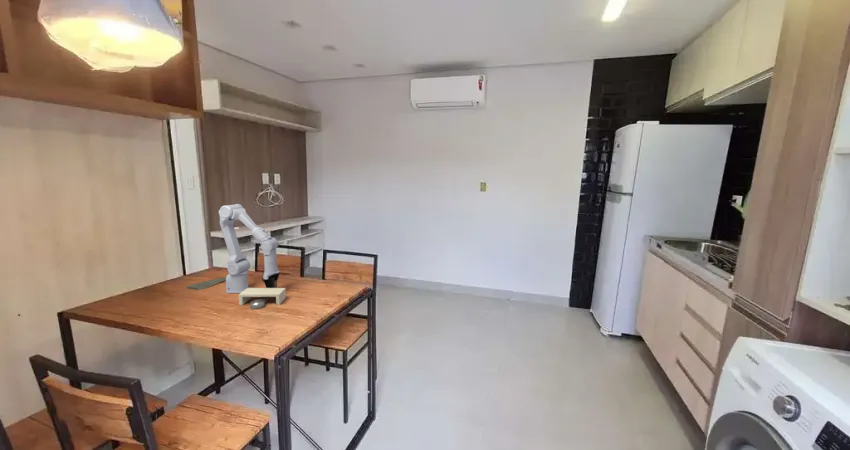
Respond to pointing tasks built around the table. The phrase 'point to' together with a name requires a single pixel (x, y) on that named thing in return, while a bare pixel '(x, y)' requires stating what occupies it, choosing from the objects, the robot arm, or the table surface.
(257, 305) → the steel token
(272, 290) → the plinth shelf
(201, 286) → the stone slab
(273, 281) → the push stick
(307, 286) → the table surface
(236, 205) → the robot arm
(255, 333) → the table surface
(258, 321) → the table surface
